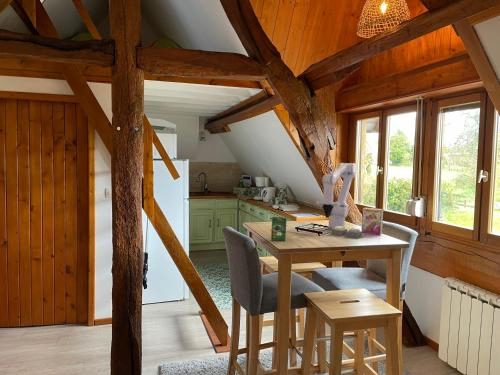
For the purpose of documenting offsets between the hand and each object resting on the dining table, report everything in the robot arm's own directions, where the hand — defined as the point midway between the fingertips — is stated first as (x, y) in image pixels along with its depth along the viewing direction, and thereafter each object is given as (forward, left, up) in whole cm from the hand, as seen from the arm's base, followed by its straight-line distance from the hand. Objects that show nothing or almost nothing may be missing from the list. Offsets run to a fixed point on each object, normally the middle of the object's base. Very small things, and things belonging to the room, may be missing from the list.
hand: (327, 217), depth 234 cm
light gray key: (+18, -1, -8) cm, 19 cm away
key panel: (+13, -1, -10) cm, 17 cm away
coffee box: (-12, -33, -11) cm, 37 cm away
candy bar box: (+21, +15, -11) cm, 28 cm away
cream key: (+8, -1, -8) cm, 11 cm away
